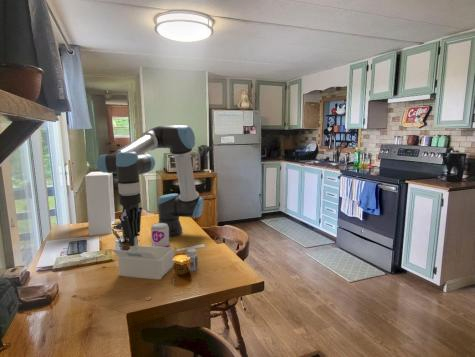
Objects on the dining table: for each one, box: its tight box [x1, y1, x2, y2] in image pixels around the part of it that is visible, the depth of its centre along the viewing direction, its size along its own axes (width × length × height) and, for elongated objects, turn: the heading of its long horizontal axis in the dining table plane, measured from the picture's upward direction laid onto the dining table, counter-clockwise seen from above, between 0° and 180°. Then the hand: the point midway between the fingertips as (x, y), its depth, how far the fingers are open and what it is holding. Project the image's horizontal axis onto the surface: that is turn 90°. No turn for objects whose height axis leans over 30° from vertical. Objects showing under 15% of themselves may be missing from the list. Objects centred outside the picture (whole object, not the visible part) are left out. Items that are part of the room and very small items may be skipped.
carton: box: [118, 244, 175, 281], centre depth 128 cm, size 14×19×8 cm
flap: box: [111, 249, 158, 260], centre depth 117 cm, size 7×16×1 cm
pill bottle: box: [185, 248, 199, 272], centre depth 129 cm, size 5×5×8 cm
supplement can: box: [150, 222, 171, 248], centre depth 144 cm, size 8×8×15 cm
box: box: [84, 171, 116, 236], centre depth 185 cm, size 22×12×35 cm, turn 17°
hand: (134, 252), depth 117 cm, fingers closed
